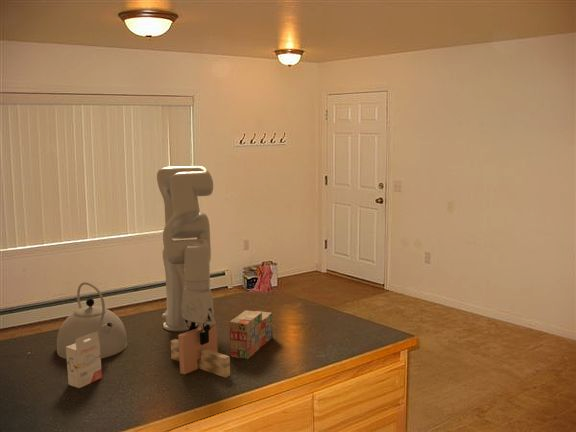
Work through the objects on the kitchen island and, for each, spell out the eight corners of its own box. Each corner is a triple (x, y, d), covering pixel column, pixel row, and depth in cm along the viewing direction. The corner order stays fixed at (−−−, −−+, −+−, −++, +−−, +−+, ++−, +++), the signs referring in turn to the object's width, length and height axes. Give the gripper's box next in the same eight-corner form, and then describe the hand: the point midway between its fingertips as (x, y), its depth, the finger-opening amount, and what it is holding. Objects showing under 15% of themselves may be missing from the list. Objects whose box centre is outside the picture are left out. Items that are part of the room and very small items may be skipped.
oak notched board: (171, 358, 192) (170, 340, 191) (175, 356, 194) (175, 338, 193) (225, 377, 177) (225, 358, 177) (230, 375, 179) (229, 356, 178)
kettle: (143, 349, 200) (141, 284, 197) (80, 368, 184) (76, 298, 181) (106, 331, 218) (103, 271, 214) (45, 347, 202) (40, 283, 198)
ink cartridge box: (91, 374, 180) (88, 327, 178) (102, 378, 177) (99, 330, 175) (67, 385, 173) (64, 336, 171) (78, 388, 170) (75, 339, 168)
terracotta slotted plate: (180, 373, 181) (178, 334, 179) (213, 358, 192) (212, 322, 190) (184, 374, 180) (182, 336, 178) (218, 360, 190) (216, 324, 189)
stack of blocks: (256, 335, 213) (256, 302, 211) (272, 337, 211) (272, 304, 209) (229, 357, 193) (229, 321, 191) (247, 360, 191) (246, 323, 189)
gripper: (169, 282, 184) (171, 339, 186) (208, 291, 173) (209, 351, 176) (187, 277, 189) (189, 332, 192) (226, 286, 179) (227, 344, 182)
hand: (199, 341), depth 184 cm, fingers open, 4 cm apart
